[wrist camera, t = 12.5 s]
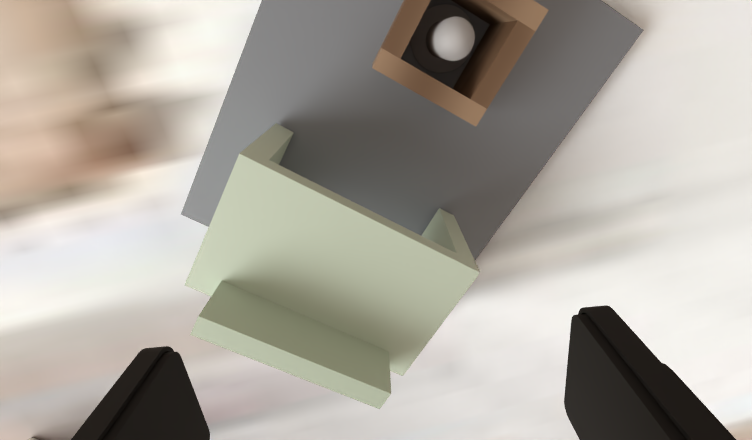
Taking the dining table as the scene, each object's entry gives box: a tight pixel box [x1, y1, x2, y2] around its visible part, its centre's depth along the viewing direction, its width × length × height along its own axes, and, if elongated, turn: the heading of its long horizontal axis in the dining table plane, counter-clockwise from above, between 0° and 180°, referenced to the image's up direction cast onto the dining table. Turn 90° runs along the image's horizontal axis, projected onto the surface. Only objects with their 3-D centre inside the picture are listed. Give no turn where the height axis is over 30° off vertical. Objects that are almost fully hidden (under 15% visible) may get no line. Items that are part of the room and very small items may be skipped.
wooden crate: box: [372, 0, 549, 126], centre depth 21 cm, size 6×6×5 cm
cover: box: [185, 123, 480, 409], centre depth 23 cm, size 13×8×10 cm, turn 61°
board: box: [181, 0, 643, 260], centre depth 24 cm, size 20×24×5 cm
